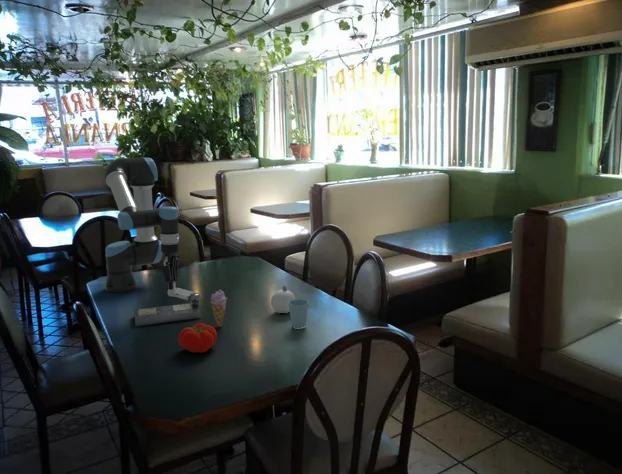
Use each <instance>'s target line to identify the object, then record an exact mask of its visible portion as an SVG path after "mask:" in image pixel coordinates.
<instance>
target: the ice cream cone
mask: <svg viewBox="0 0 622 474" xmlns="http://www.w3.org/2000/svg"><path fill="white" fill-rule="evenodd" d="M228 299H229V298H228V297H226V295H225V292H224V291H223V290H221V289H218V291H217V290H216V291H215V293H212V294H211V297H210V300H211V301H210V305H211V309H212V313H213V316H214V318H215V319H214V320H215V322H216V325H217V327H218V328H222V326H223V321H224V318H225V314H226V308H227V300H228Z"/></svg>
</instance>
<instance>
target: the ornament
mask: <svg viewBox="0 0 622 474" xmlns="http://www.w3.org/2000/svg"><path fill="white" fill-rule="evenodd" d="M295 299H296V297H295V295H294V293H293V292H292V291H290V290H288V289H287V286H286V285H283V286H282V288H281V289H278V290H276V291H275V292H274V293H273V294H272V296H271V299H270V305H271V308H272V310H273V311H275V312H276V313H278V314H280V313H286V314H289V313H290V309H289V301H291V300H295ZM288 312H289V313H288Z"/></svg>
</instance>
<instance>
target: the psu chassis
mask: <svg viewBox="0 0 622 474" xmlns="http://www.w3.org/2000/svg"><path fill="white" fill-rule="evenodd" d="M201 318H202V312H201V308H200V300H199V301H191V302H188V303H179V304H178V303H177V304H173V305H172V304H171V305H164V306H153V307H145V308H138V309H134V324H135V327H140V326H149V325H155V324H163V323H171V322H179V321H187V320H193V319H201Z"/></svg>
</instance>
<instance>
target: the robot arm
mask: <svg viewBox="0 0 622 474" xmlns="http://www.w3.org/2000/svg"><path fill="white" fill-rule="evenodd" d="M158 174H159V173H158V167H157V165H156V163H155V160H153V159H152V158H151V157H128V158H127V157H124V158H123V157H122V158H116V159H114V160H112V161H111V162H110V163H109V164H108V165H107V167H106V169H105V172H104V181H105V183H106V185H107V187H109V188H110V190H111V193H112V195H113V197H114V202H115V203H116V206H117V208H118V211H119V213H118V214H117V224H118V225H117V226H118V228H119V229H120V230H121V231H124V230H127V231H130V230H136V231H135V232H136V236H135V237H134V238H133V243H131V241H130V240H121V241H116V242H112V243H110V244H108V245H107V246H106V247H105V259H106V260H105V261H106V271H107V275H106V281H105V283H104V289H105V292H107V293H113V294H115V293H118V294H119V293H126V292H130V291H134V290H135V289H137V287H138V281H137V279H136V278H135V274H134V273H133V267H139V266H145V265H146V266H147V265H153V264H158V263H160V261H161V260H162V257H164V261H161V265H162V269H163V274H164V281H165V282H166V283H167V287H168V290H167V292H168V291H169V295H168V297H175V296H176V288H177V287H176V282H177V281H178V277H179V276H178V275H179V274H178V273H179V260H180V255H177V253H179V252H180V243H179V241H180V235H179V213H178V208H177V207H176V206H161V207H158V208H155V209H154V207H153V191H152V189H153V187H154V186H155V182H157V181H158V180H159V179H158V177H159V175H158ZM128 183H129V184H128ZM130 188H131V189H132V190H130ZM132 191H133V194H132ZM155 228H159V229H160V233H159V236H160V240H159V239H158V237H157V236H156V235H155ZM163 254H164V256H163Z"/></svg>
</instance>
